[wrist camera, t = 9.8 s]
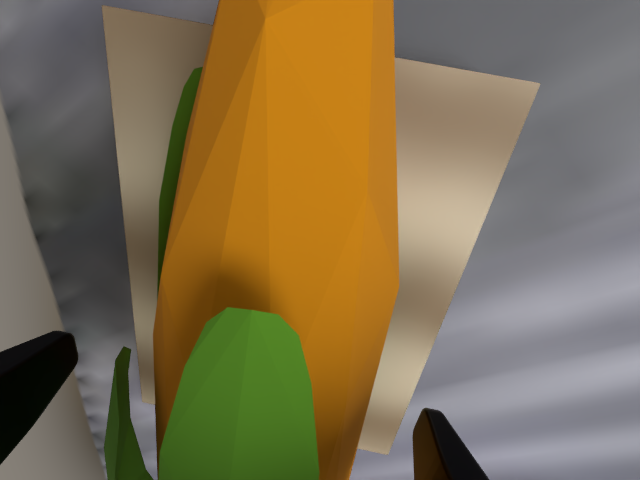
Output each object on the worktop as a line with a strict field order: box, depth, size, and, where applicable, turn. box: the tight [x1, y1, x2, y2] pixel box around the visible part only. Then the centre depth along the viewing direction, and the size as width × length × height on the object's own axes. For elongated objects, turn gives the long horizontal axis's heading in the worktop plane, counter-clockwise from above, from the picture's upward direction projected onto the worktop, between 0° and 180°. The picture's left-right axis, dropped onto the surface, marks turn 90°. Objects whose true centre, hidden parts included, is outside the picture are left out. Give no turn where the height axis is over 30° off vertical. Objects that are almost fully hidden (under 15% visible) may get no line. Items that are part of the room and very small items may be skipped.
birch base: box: [102, 5, 541, 455], centre depth 14 cm, size 16×12×3 cm
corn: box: [104, 0, 399, 480], centre depth 9 cm, size 7×8×20 cm
